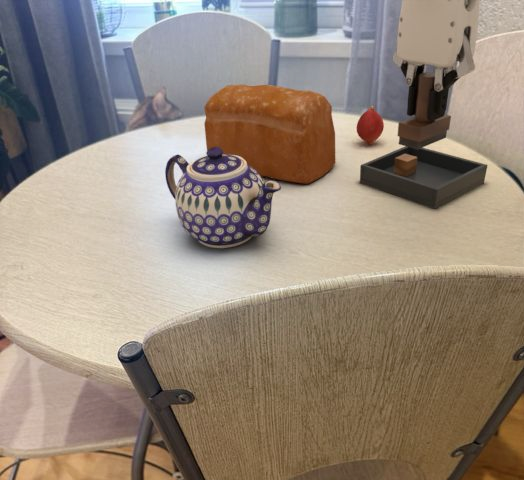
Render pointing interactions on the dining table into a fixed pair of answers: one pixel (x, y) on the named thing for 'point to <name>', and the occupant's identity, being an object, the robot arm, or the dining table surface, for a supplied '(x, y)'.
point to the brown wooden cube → (405, 165)
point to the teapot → (220, 198)
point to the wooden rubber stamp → (423, 118)
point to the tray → (424, 176)
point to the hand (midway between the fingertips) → (425, 114)
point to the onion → (370, 126)
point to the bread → (273, 130)
